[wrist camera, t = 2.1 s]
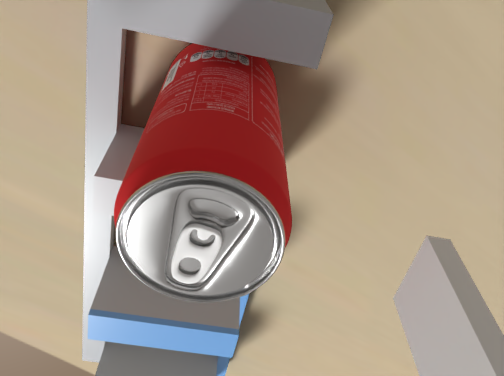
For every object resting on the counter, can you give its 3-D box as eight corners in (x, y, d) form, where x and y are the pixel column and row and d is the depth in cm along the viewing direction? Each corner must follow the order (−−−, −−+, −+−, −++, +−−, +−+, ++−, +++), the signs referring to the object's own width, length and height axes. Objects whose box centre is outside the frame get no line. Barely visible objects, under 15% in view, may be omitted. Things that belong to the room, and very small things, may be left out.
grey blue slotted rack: (95, -66, 19) (48, -47, 15) (334, -11, 20) (357, 22, 16) (86, 348, 34) (61, 419, 30) (224, 366, 35) (220, 437, 31)
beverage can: (292, 53, 22) (327, 202, 12) (252, 143, 25) (253, 325, 15) (187, 12, 21) (130, 137, 11) (157, 110, 24) (89, 282, 14)
